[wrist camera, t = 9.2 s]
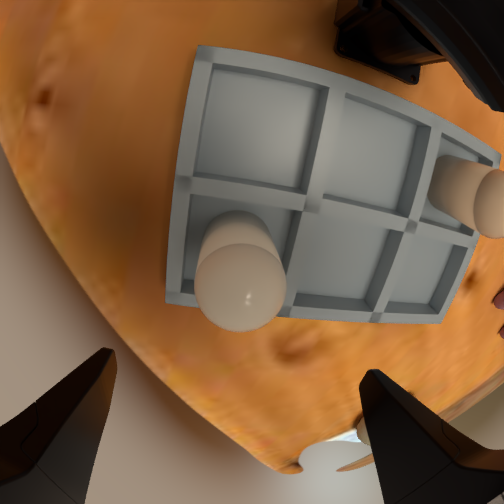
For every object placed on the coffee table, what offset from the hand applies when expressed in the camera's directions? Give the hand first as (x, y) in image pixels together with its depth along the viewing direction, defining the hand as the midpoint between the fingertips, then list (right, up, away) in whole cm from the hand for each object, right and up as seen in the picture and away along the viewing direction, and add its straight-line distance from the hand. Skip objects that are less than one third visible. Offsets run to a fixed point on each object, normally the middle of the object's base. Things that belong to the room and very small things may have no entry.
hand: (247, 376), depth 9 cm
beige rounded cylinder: (+15, +9, +10) cm, 21 cm away
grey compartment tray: (+7, +7, +10) cm, 15 cm away
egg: (-1, +5, +10) cm, 12 cm away
